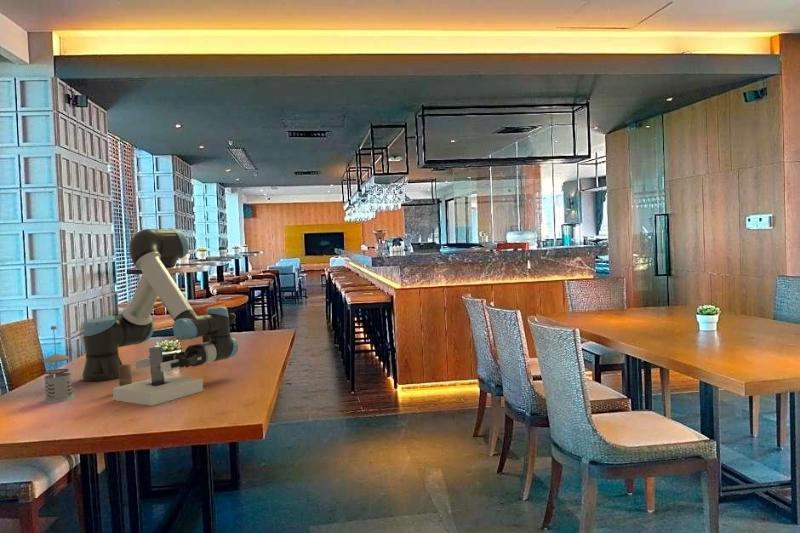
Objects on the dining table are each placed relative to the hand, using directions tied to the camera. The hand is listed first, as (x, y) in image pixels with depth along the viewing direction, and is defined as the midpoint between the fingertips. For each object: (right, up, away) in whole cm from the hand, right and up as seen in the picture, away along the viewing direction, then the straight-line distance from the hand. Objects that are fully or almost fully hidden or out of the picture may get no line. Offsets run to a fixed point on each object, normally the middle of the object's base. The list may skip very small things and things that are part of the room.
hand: (147, 366), depth 210 cm
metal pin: (+2, -10, +3) cm, 11 cm away
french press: (-33, -12, +7) cm, 36 cm away
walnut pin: (-13, -11, +13) cm, 21 cm away
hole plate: (+2, -10, +3) cm, 11 cm away
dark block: (0, -7, +86) cm, 86 cm away
